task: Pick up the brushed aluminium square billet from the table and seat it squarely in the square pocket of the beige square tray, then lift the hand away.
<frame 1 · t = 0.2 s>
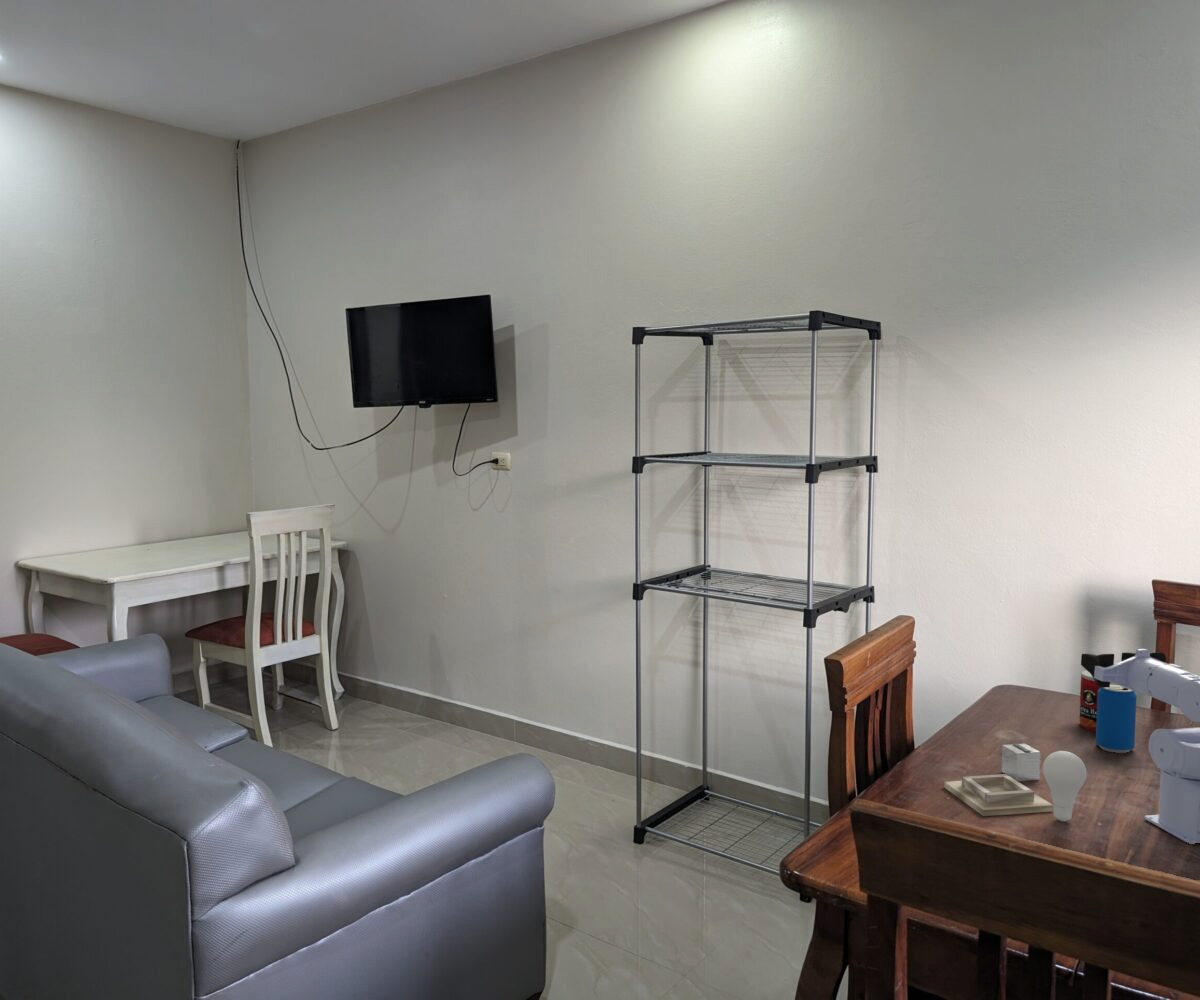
hand: (1103, 658, 162), 22 cm above the table, tool horizontal, fingers open, 7 cm apart
canned food: (1100, 728, 193), on the table
beverage can: (1114, 749, 180), on the table
lightbulb: (1062, 822, 147), on the table
billet: (1020, 776, 166), on the table
beige square tray: (996, 798, 156), on the table
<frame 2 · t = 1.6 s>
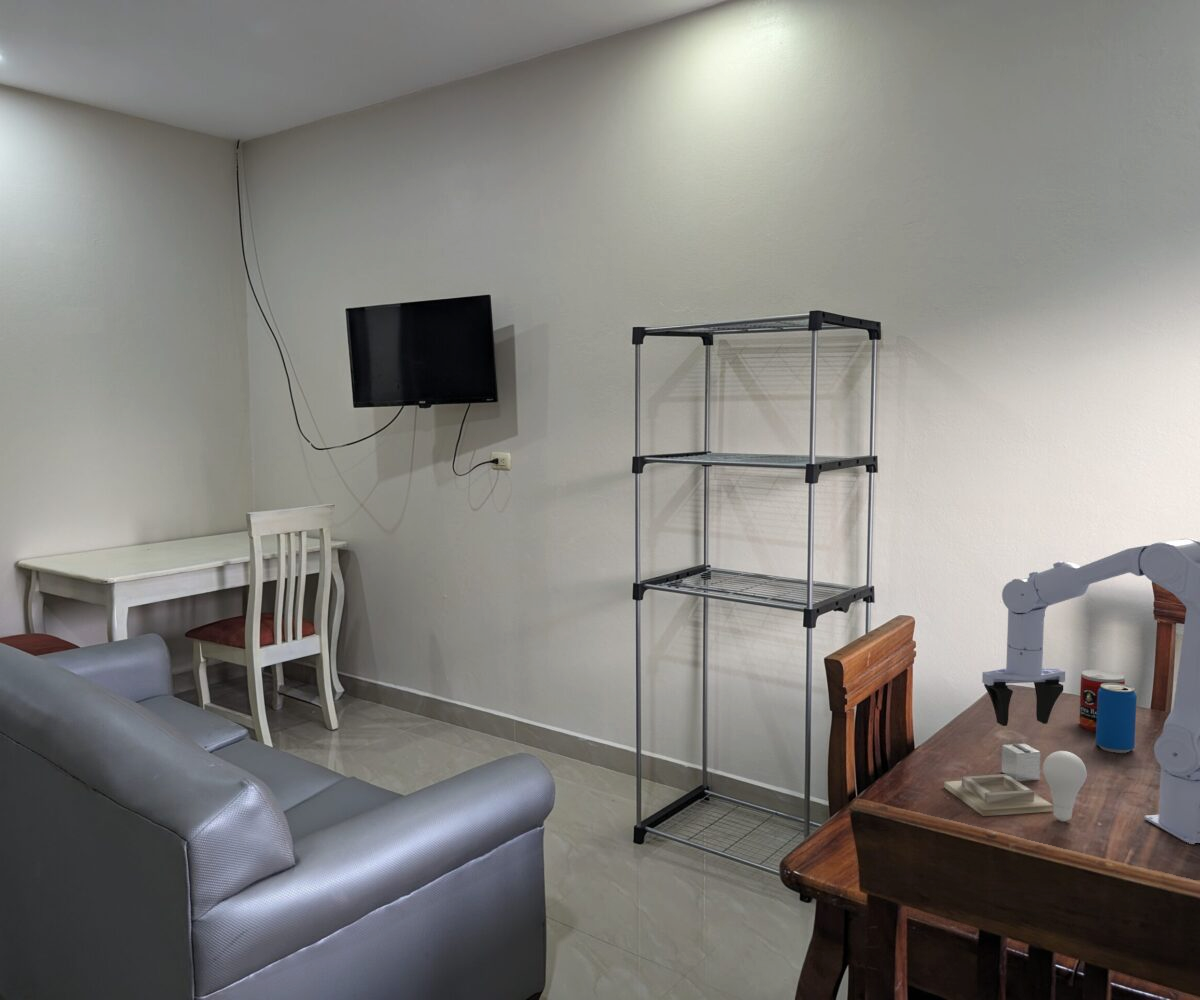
hand: (1022, 723, 165), 9 cm above the table, tool pointing down, fingers open, 7 cm apart
nothing on the table moved.
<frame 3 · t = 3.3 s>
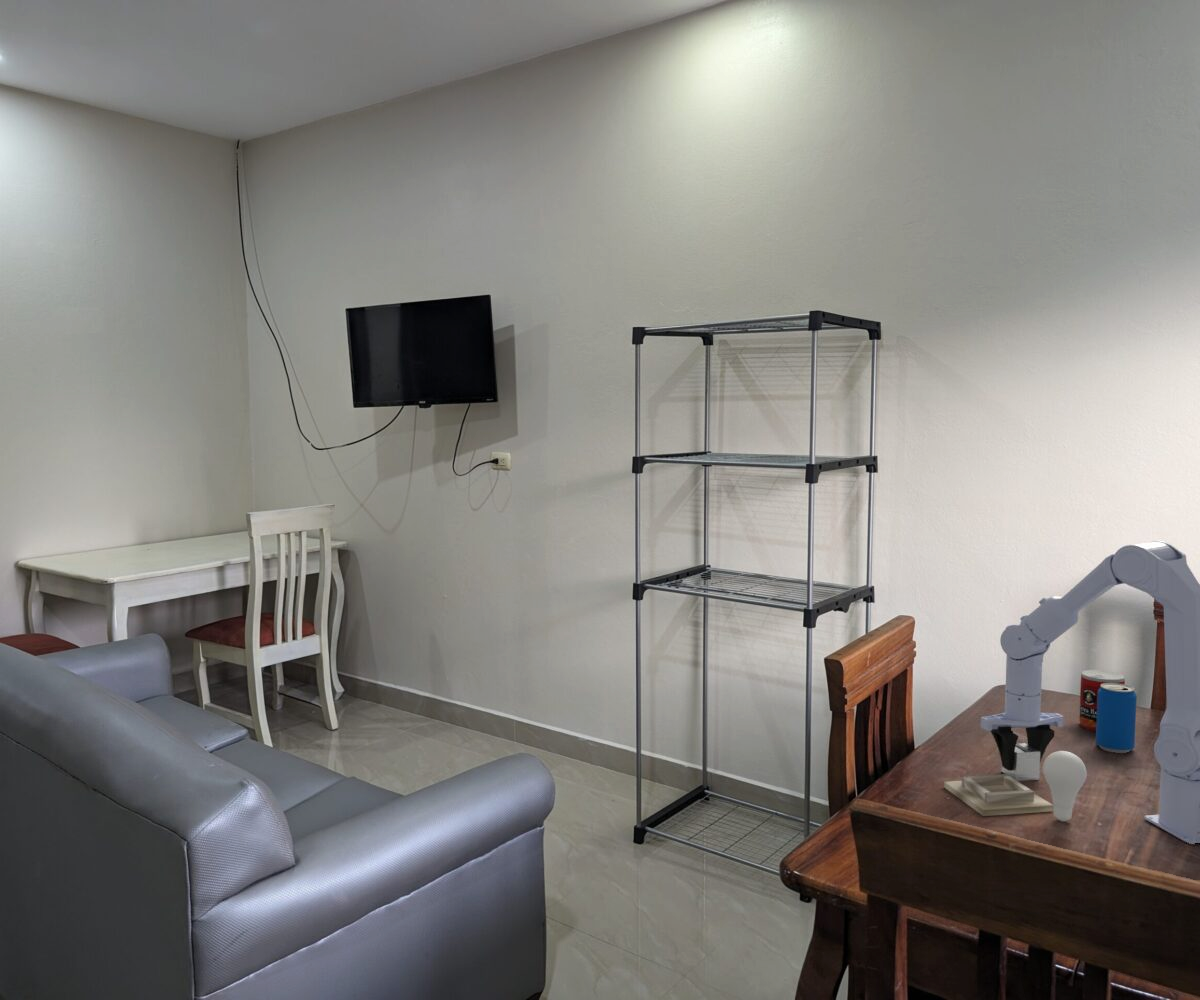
hand: (1020, 767, 166), 1 cm above the table, tool pointing down, fingers closed on billet, 4 cm apart
billet: (1020, 775, 166), on the table, touching gripper
everything else where it was.
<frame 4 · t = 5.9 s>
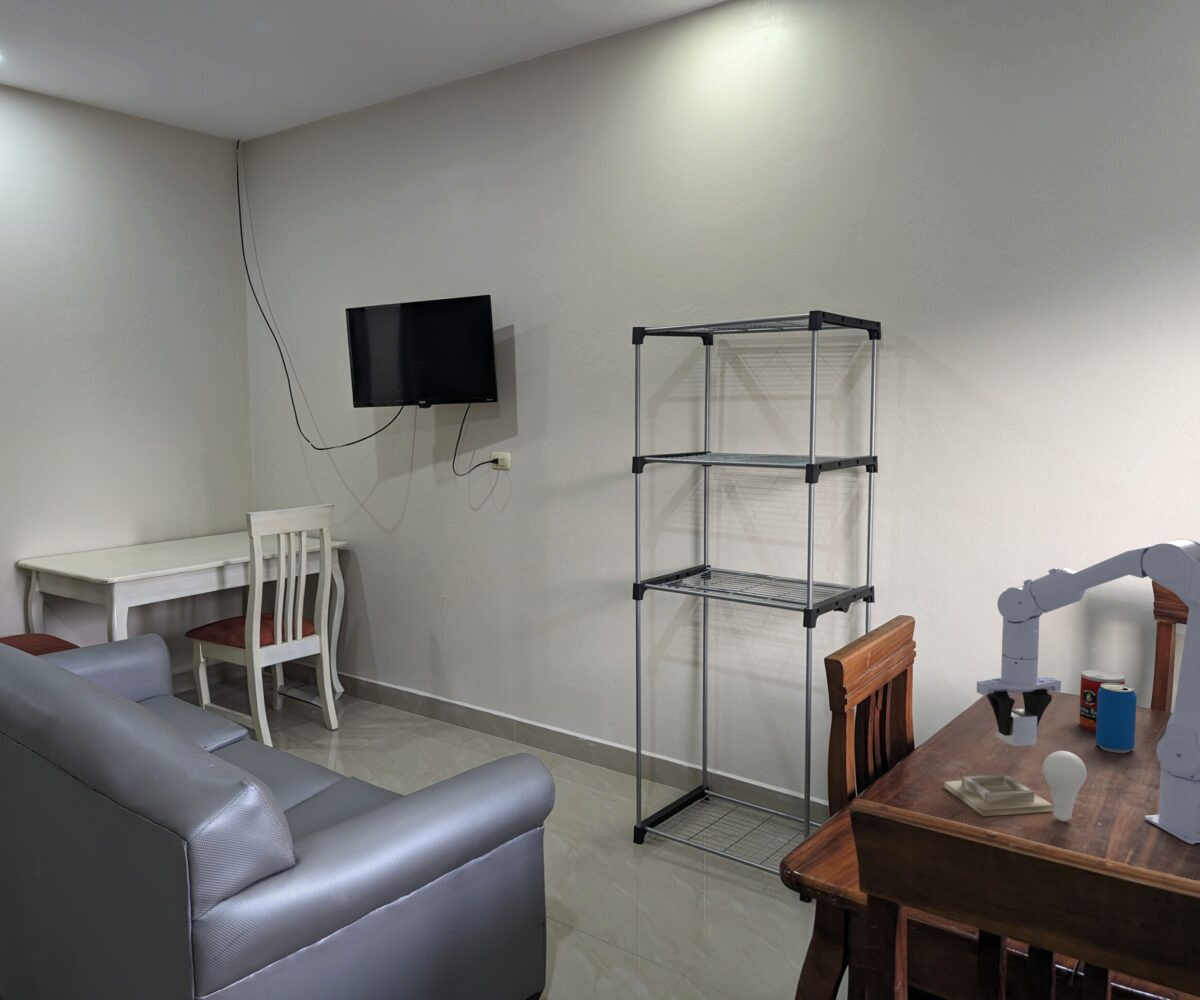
hand: (1017, 733, 163), 8 cm above the table, tool pointing down, fingers closed on billet, 4 cm apart
billet: (1016, 741, 163), point 7 cm above the table, touching gripper
everything else where it was.
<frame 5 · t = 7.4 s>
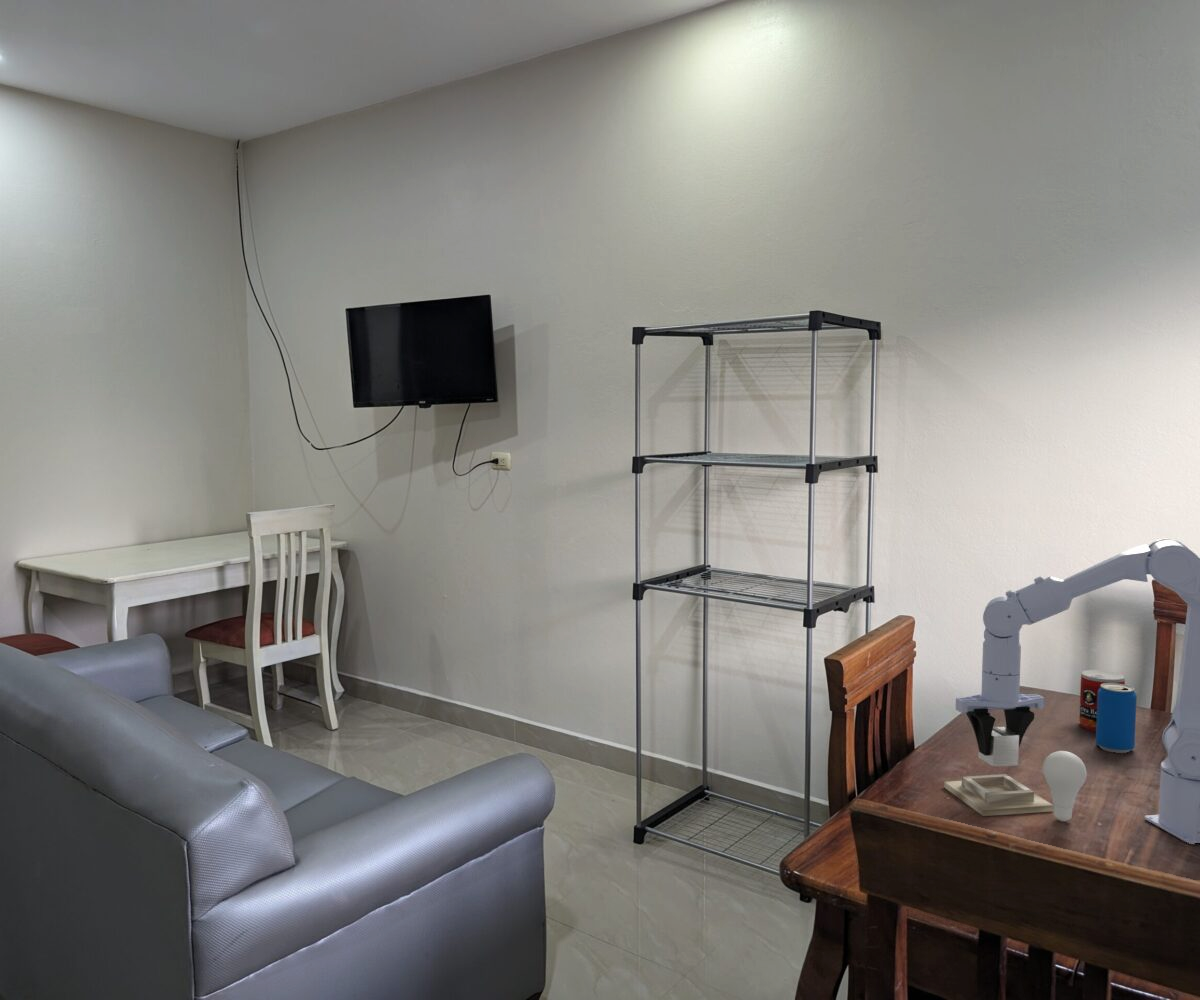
hand: (998, 752, 155), 8 cm above the table, tool pointing down, fingers closed on billet, 4 cm apart
billet: (997, 761, 155), point 6 cm above the table, touching gripper
everything else where it was.
when the fingers open (3 cm above the table, at t = 8.7 s): billet stays where it is, resting on beige square tray.
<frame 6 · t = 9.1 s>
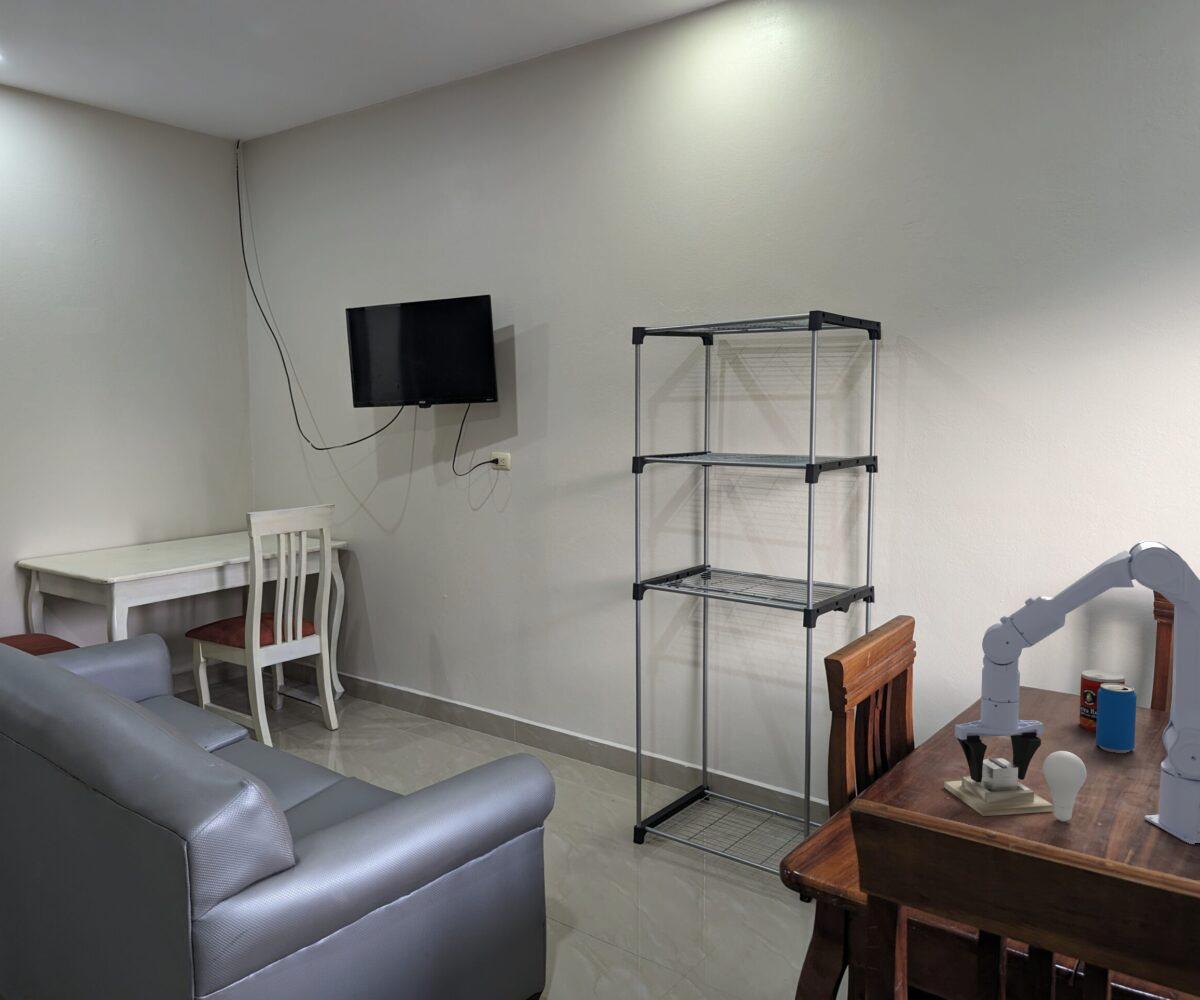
hand: (997, 778, 155), 3 cm above the table, tool pointing down, fingers open, 7 cm apart
billet: (996, 793, 156), point 1 cm above the table, touching beige square tray
everything else where it was.
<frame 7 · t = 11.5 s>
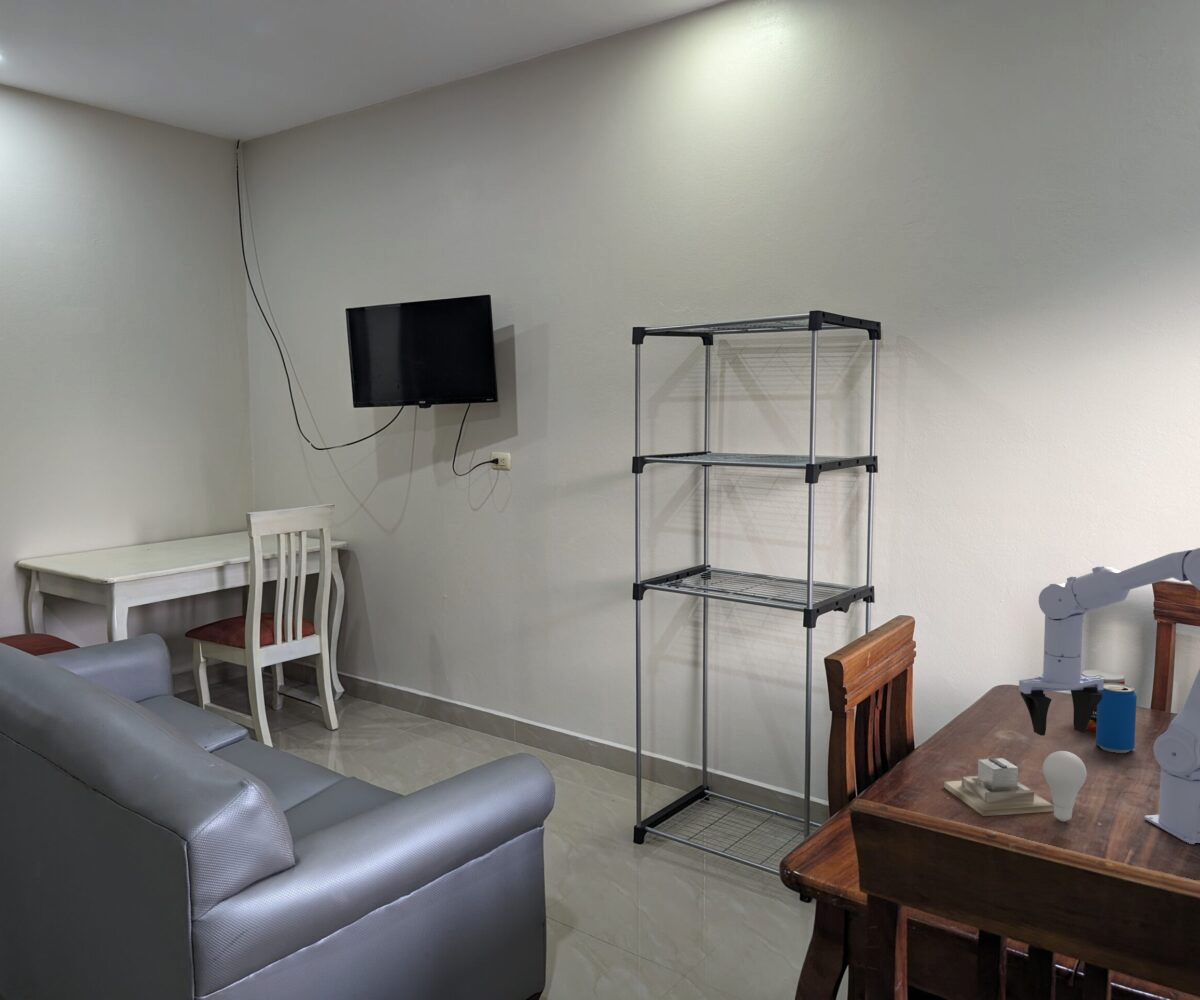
hand: (1059, 732, 160), 9 cm above the table, tool pointing down, fingers open, 7 cm apart
nothing on the table moved.
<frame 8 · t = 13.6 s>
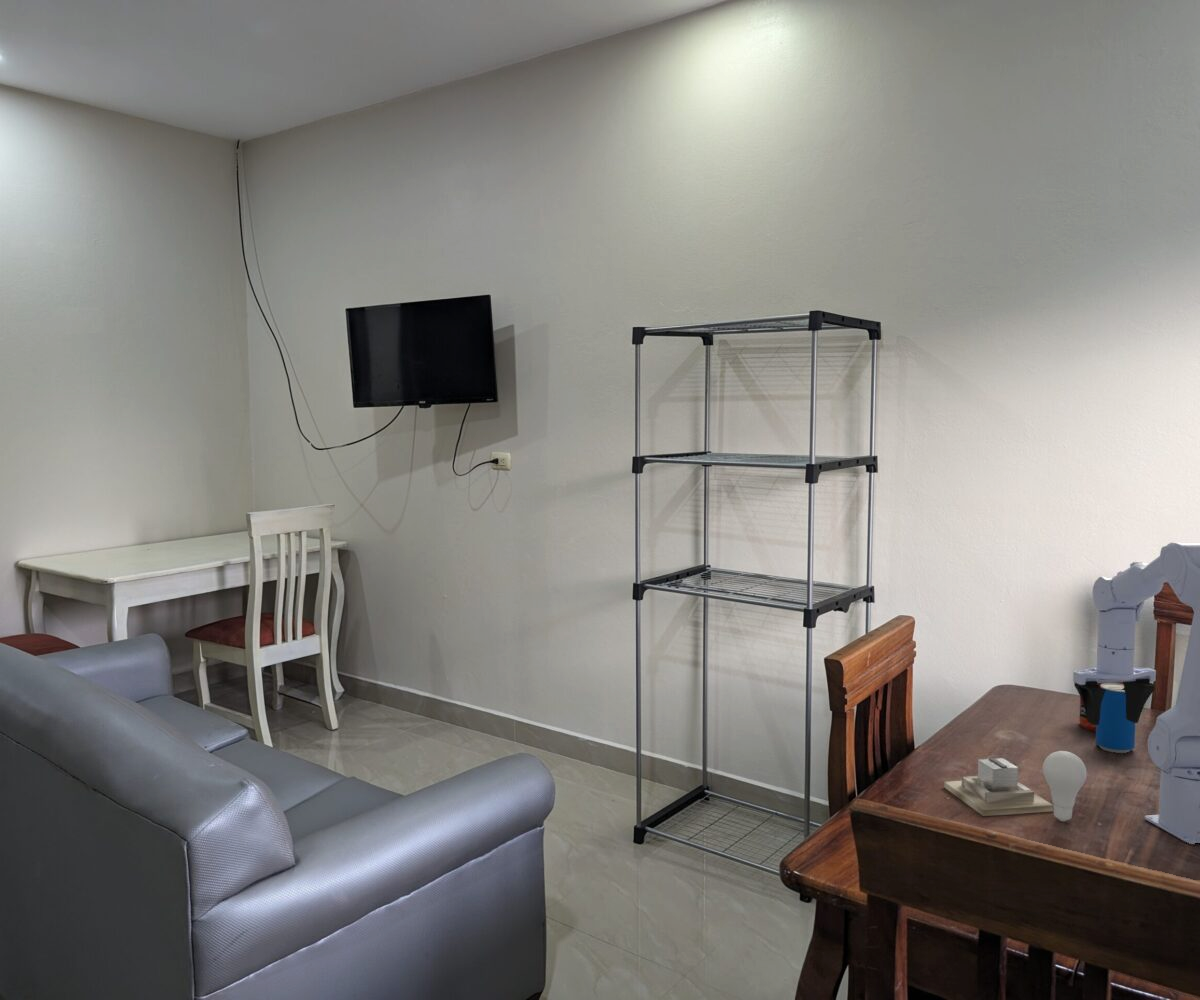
hand: (1112, 722, 166), 9 cm above the table, tool pointing down, fingers open, 7 cm apart
nothing on the table moved.
at the end: billet 0.0 cm off-centre on the beige square tray, point 1.0 cm above the beige square tray's base; billet tilted 0°; the gripper is holding nothing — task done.
